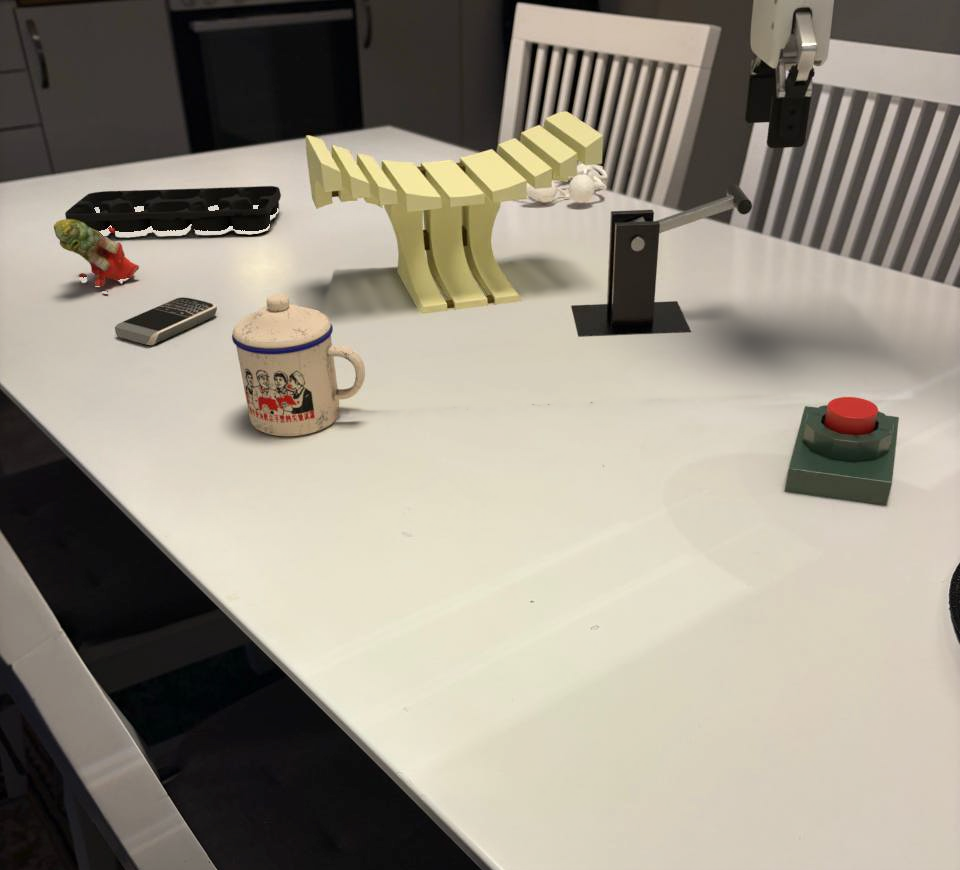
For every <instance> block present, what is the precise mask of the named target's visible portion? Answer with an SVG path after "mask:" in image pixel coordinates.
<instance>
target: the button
mask: <svg viewBox="0 0 960 870" xmlns="http://www.w3.org/2000/svg"><path fill="white" fill-rule="evenodd" d="M826 405H827V411H826V416H825V422H824V425H825V427H826V428H827V429H830V430H832V431H835V432H837V433H840V434H848V435H864V434H870V433H872V432H873V431H874V428H875V423H876V419H877V414H878V411H879V407H878V406H877V405H876V404H875V403H874V402H872V401H870V400H868V399H865V398H862V397H856V396H841V397H840V396H839V397H836V398H833V399H831V400H830V401H829V402H828V403H827V404H826Z"/></svg>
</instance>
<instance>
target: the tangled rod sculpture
mask: <svg viewBox="0 0 960 870" xmlns="http://www.w3.org/2000/svg"><path fill="white" fill-rule="evenodd" d="M608 178H609V176H608V172H607V171H606V170H605V169H604V165H603V166H602V165H599V164H593V165H584V164H583V163H579V164H577V176H568V181H570V182H569V184H568V193H566V191H565V190H564V189H561V188H559V187H558V186H557V185H556V184H555V181H554V180H552V187H550V188H540V189H534V188H533V187H532V186H531V185H529V184H528V183H527V197H530V198H534V199H535V200H537V201H539V202H541V203H550V202H553V200H554V199H555V198H556V196H557V193H559V196H563V197H564V199H565V200H569V199H570V198H571V200H573V202H575V203H577V204H584V203H587V202H589V201H590V200H591V199H593V196H594V194H595V191H596V189H601V190H602V191H603V190H607V188H608V187H607V185H606V183H604V182H606V181H607V180H608Z"/></svg>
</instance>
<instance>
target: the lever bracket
mask: <svg viewBox="0 0 960 870" xmlns="http://www.w3.org/2000/svg"><path fill="white" fill-rule="evenodd" d="M640 217H643V218H644V220H645V222H629V221H631V220H634V219H637V218H640ZM609 219H610V220H609V221H610V222H609V223H610V224H609V244H608V245H609V246H608V247H609V248H608V271H607V293H606V294H607V295H606V303H600V304H598V303H597V304H573V305H570V308H571V312H572V316H573V321H574V324H575V328H576V333H577V337H579V338H583V337H584V338H585V337H608V336H609V337H612V336H632V335H657V334H659V335H660V334H682V333H686V334H687V333H692V330H691V328H690V326H689V324H688V321H687V318H686V317H685V315H684V313H683V310H682V309H681V306H680V304H679V302H678V301H677V300H671V301H655V300H656V285H657V271H658V260H659V259H658V258H659V257H658V256H659V243H660V233H659V230H660V223H659V221H657V220H654V219H655V212H654V210H653V209H634V210H611V211H610V218H609Z"/></svg>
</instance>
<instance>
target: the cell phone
mask: <svg viewBox="0 0 960 870" xmlns="http://www.w3.org/2000/svg"><path fill="white" fill-rule="evenodd" d="M217 310H218V307H217V305H216V304H214V303H211V302H208V301H204V300H201V299H200V300H199V299H196V298H191V297H183V296H182V297H176V298H173V300H169V301H167V302H165V303H163V304H160V305H158V306H156V307H153V308H151V309H148V310H146V311H144V312H142V313H139V314H137V315H135V316H132V317H130V318H128V319H125V320H123V321H121V322H119V323H117V324H116V325H115V326H114V332H115V335H116V336H117V337H118V338H121V339H125V340H128V341H132V342H135V343H139V344H143V345H147V346H151V345H152V346H154V345H156V344H158V342H159V343H161V342H163V341H165V340H167V339H169V338H172V337H174V336H176V335H178V334H180V333H182V332H184V330H185V331H187V330H189V329H191V328H194V327H195V326H197V324H198V325H199V324H202V323H204V322H206V321H209V320H210V319H212V318H214V317H215V316H216V314H217ZM186 329H187V330H186ZM173 335H174V336H173ZM171 336H172V337H171ZM162 340H163V341H162ZM160 341H161V342H160Z"/></svg>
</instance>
